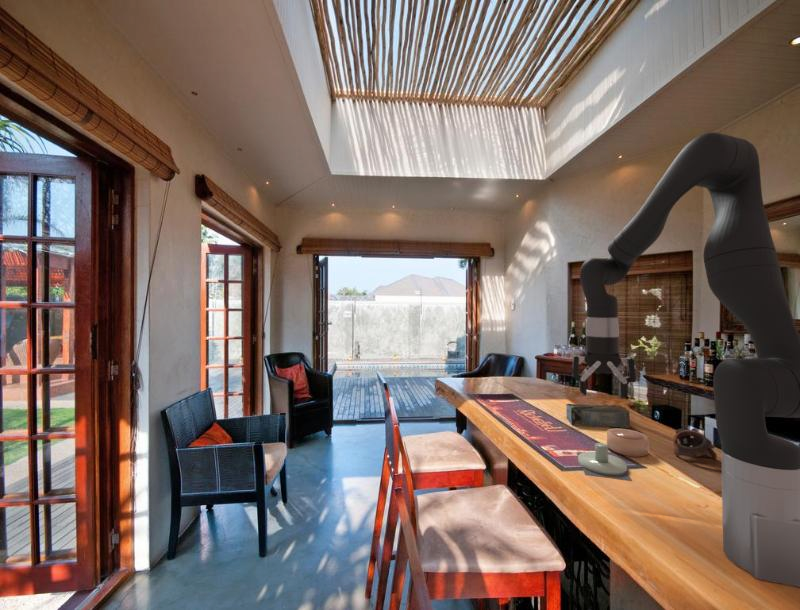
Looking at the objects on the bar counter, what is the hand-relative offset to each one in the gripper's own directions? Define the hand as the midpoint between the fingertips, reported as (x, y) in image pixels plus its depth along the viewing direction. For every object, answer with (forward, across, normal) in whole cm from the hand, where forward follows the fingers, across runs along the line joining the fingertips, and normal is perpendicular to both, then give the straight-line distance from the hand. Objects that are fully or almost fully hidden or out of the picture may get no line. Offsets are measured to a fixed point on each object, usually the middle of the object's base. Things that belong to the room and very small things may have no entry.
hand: (602, 396), depth 90 cm
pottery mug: (+19, +25, +16) cm, 35 cm away
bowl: (+19, +8, +13) cm, 24 cm away
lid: (+18, 0, 0) cm, 18 cm away
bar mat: (+19, 0, 0) cm, 19 cm away
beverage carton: (+20, +5, +38) cm, 43 cm away
